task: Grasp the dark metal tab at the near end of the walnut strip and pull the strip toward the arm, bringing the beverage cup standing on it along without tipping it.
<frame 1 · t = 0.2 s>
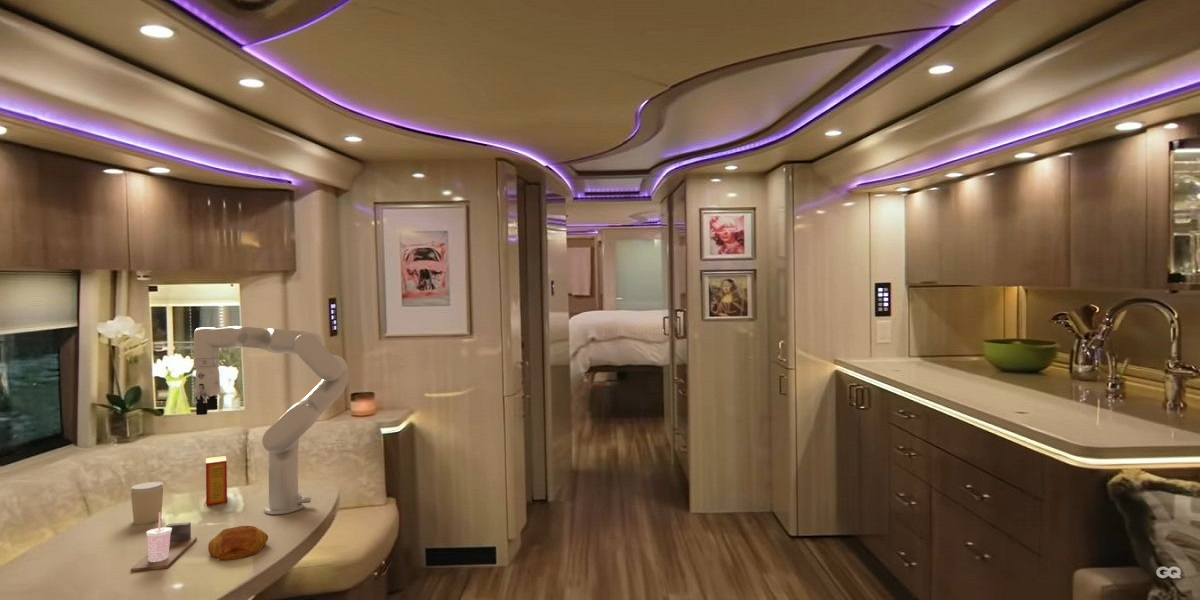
hand: (207, 412, 225), 36 cm above the table, tool pointing down, fingers open, 9 cm apart
beverage cup: (158, 562, 186), resting on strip
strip: (165, 544, 191), point 3 cm above the table, slide at 0.0 cm, touching beverage cup
croissant: (237, 552, 193), on the table
coffee cup: (147, 520, 221), on the table
baking soda box: (216, 501, 241), on the table
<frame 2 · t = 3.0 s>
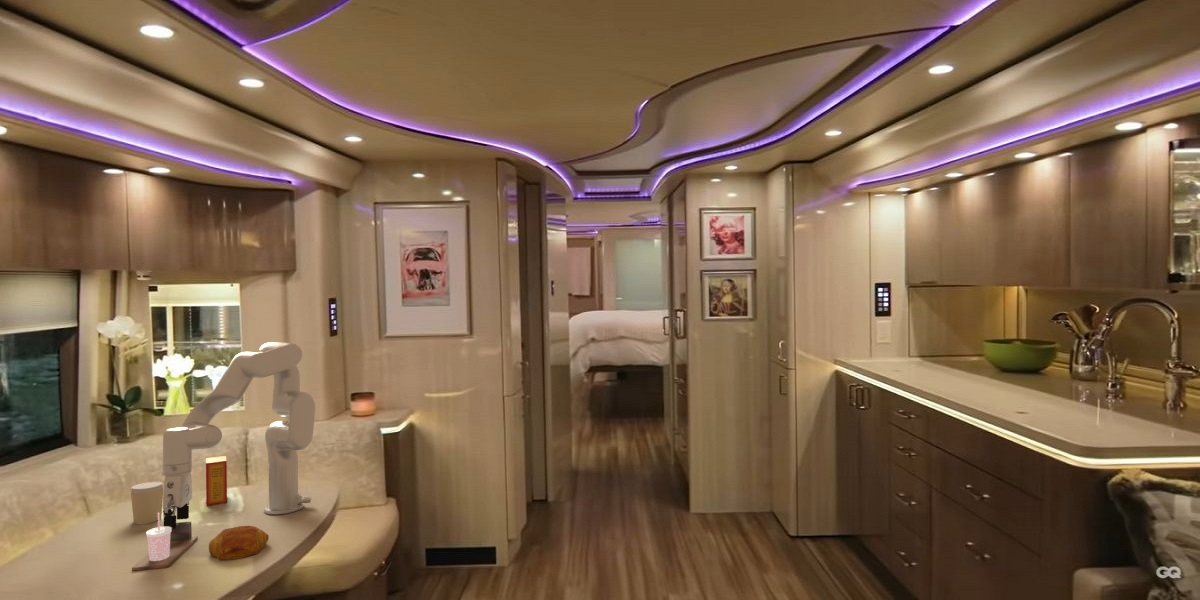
hand: (176, 523, 199), 6 cm above the table, tool pointing down, fingers open, 9 cm apart
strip: (166, 544, 191), point 3 cm above the table, slide at 0.5 cm, touching beverage cup
everything else where it was.
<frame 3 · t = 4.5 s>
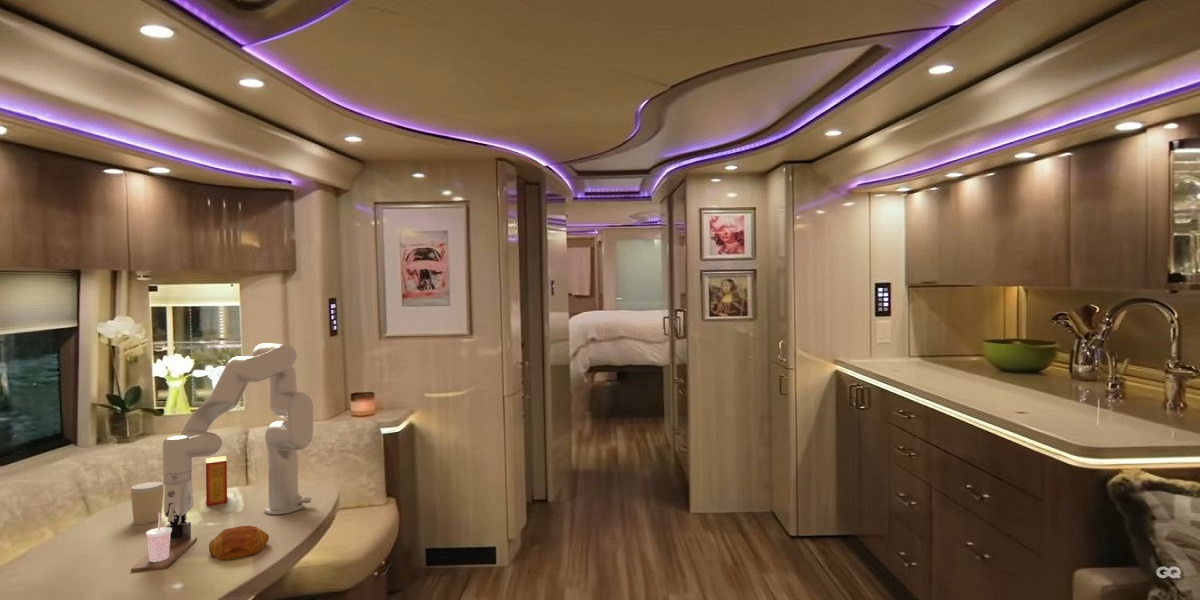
hand: (178, 535, 200), 2 cm above the table, tool pointing down, fingers closed
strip: (165, 544, 191), point 3 cm above the table, slide at 0.1 cm, touching beverage cup, gripper
everything else where it was.
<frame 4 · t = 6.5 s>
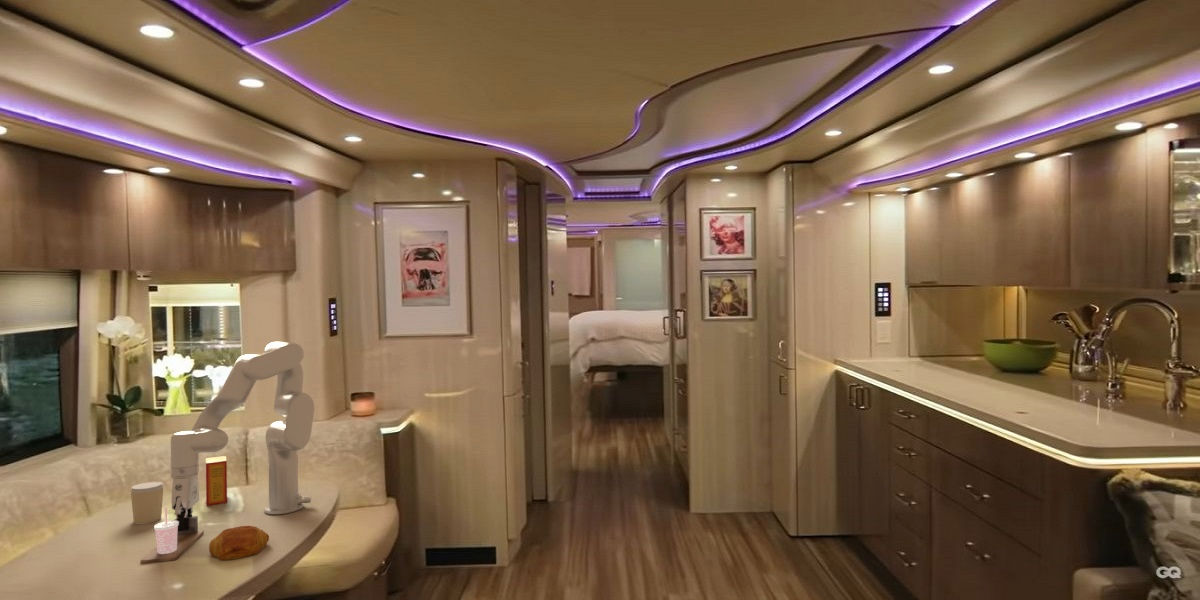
hand: (184, 528, 205), 3 cm above the table, tool pointing down, fingers closed
beverage cup: (167, 554, 191), resting on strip
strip: (173, 537, 196), point 3 cm above the table, slide at 5.7 cm, touching beverage cup, gripper
everything else where it was.
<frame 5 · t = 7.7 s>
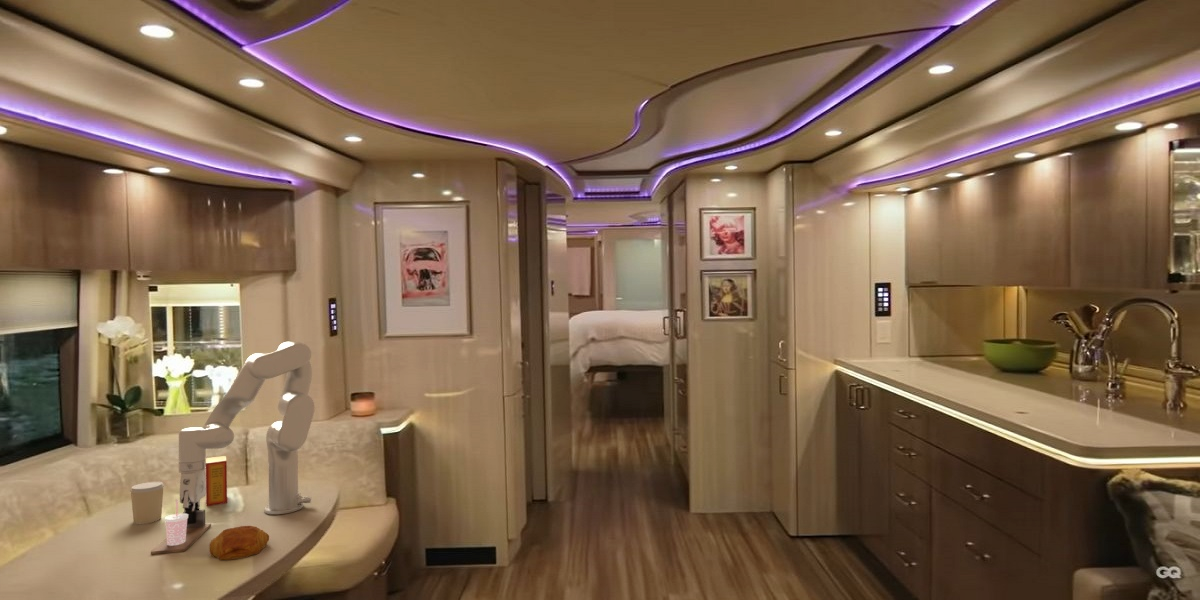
hand: (192, 521, 212), 3 cm above the table, tool pointing down, fingers closed
beverage cup: (176, 546, 198), resting on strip
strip: (182, 530, 203), point 3 cm above the table, slide at 12.4 cm, touching beverage cup, gripper
everything else where it was.
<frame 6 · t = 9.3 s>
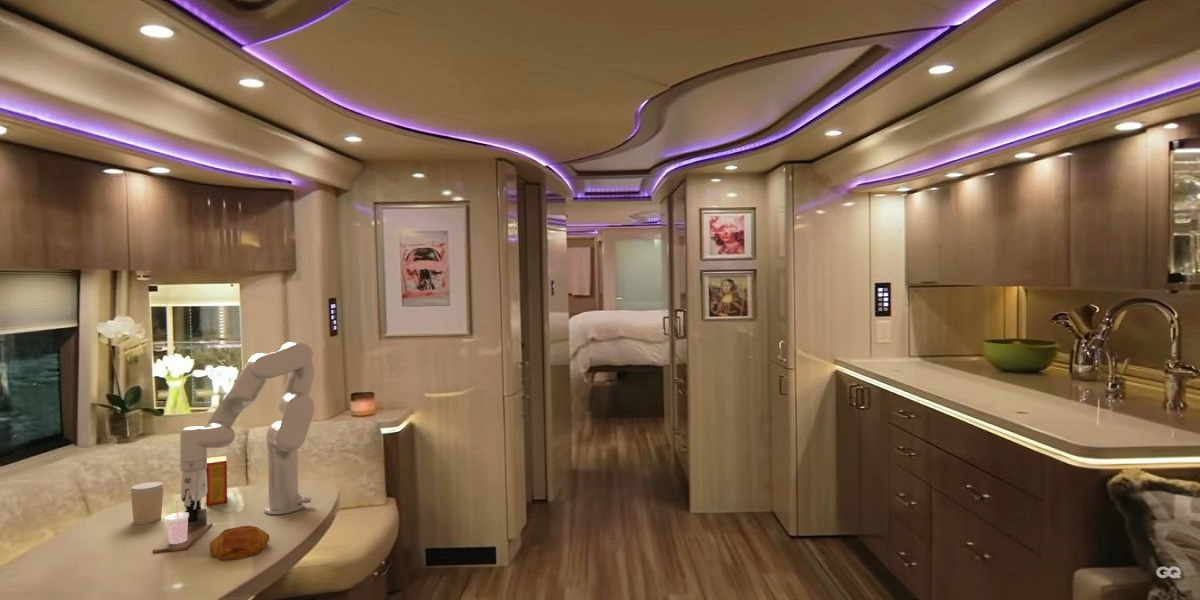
hand: (193, 520, 213), 3 cm above the table, tool pointing down, fingers closed
beverage cup: (178, 544, 199), resting on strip
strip: (184, 528, 204), point 3 cm above the table, slide at 13.5 cm, touching beverage cup
everything else where it was.
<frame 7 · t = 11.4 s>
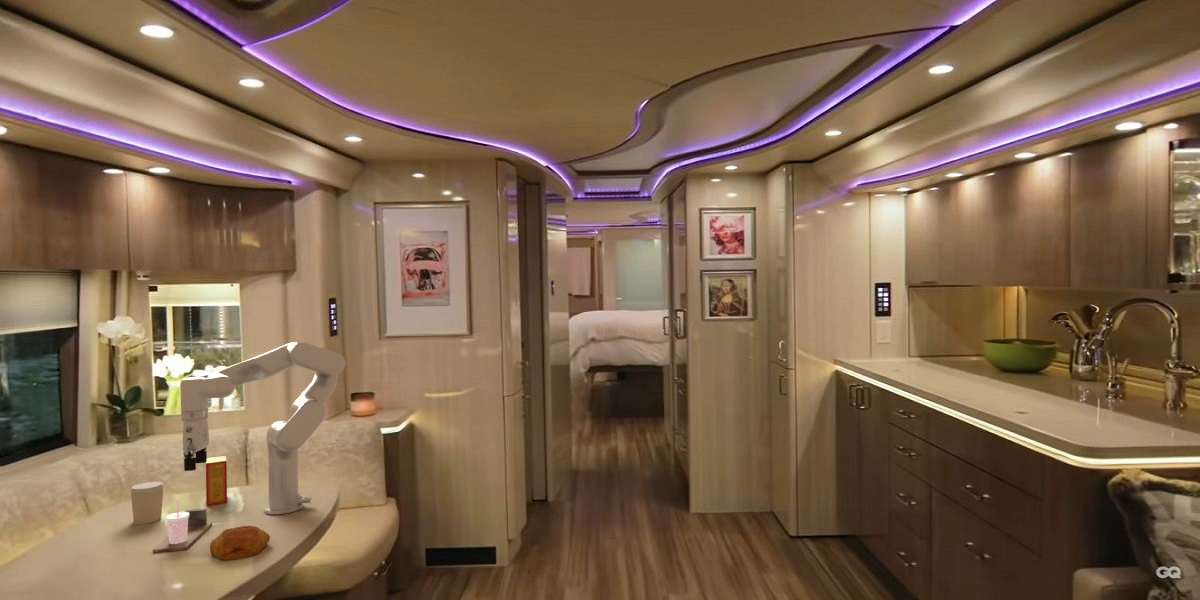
hand: (195, 466, 214), 20 cm above the table, tool pointing down, fingers open, 9 cm apart
nothing on the table moved.
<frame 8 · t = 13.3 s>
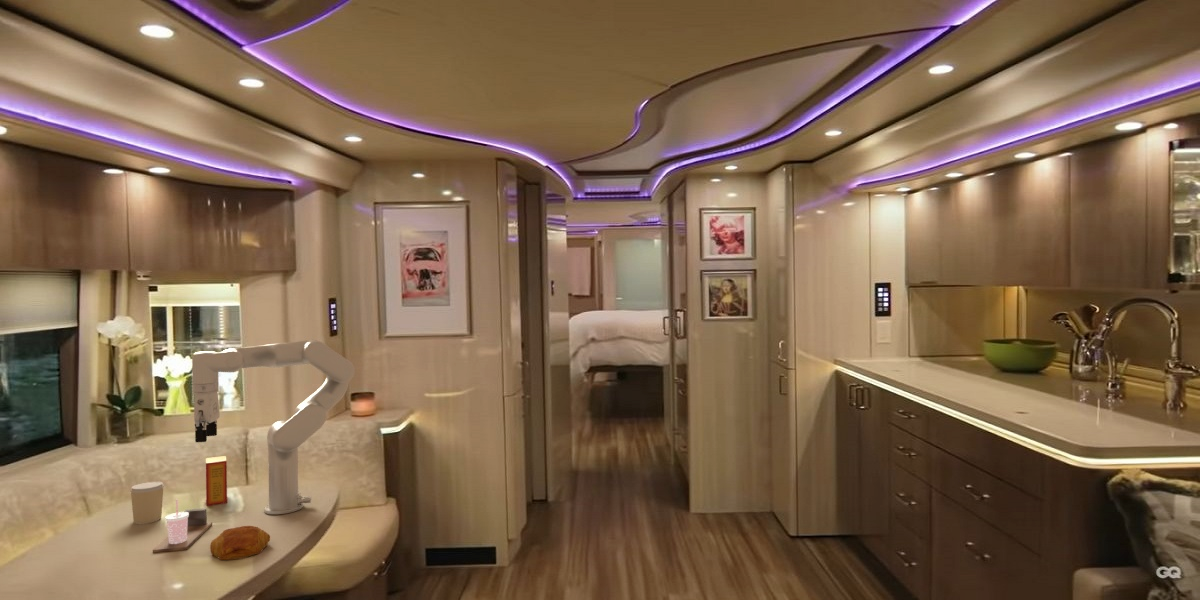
hand: (206, 438, 218), 28 cm above the table, tool pointing down, fingers open, 9 cm apart
nothing on the table moved.
at the end: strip slide at 13.6 cm; beverage cup inside the target area (0.8 cm from its centre), resting on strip; beverage cup tilted 1° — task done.
